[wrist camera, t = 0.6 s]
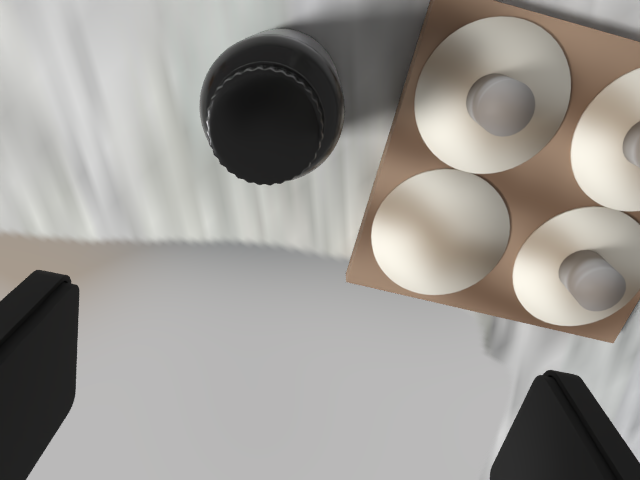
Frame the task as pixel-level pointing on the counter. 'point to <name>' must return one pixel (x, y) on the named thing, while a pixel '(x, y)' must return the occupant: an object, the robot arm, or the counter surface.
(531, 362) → the counter surface
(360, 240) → the board
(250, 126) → the supplement bottle
